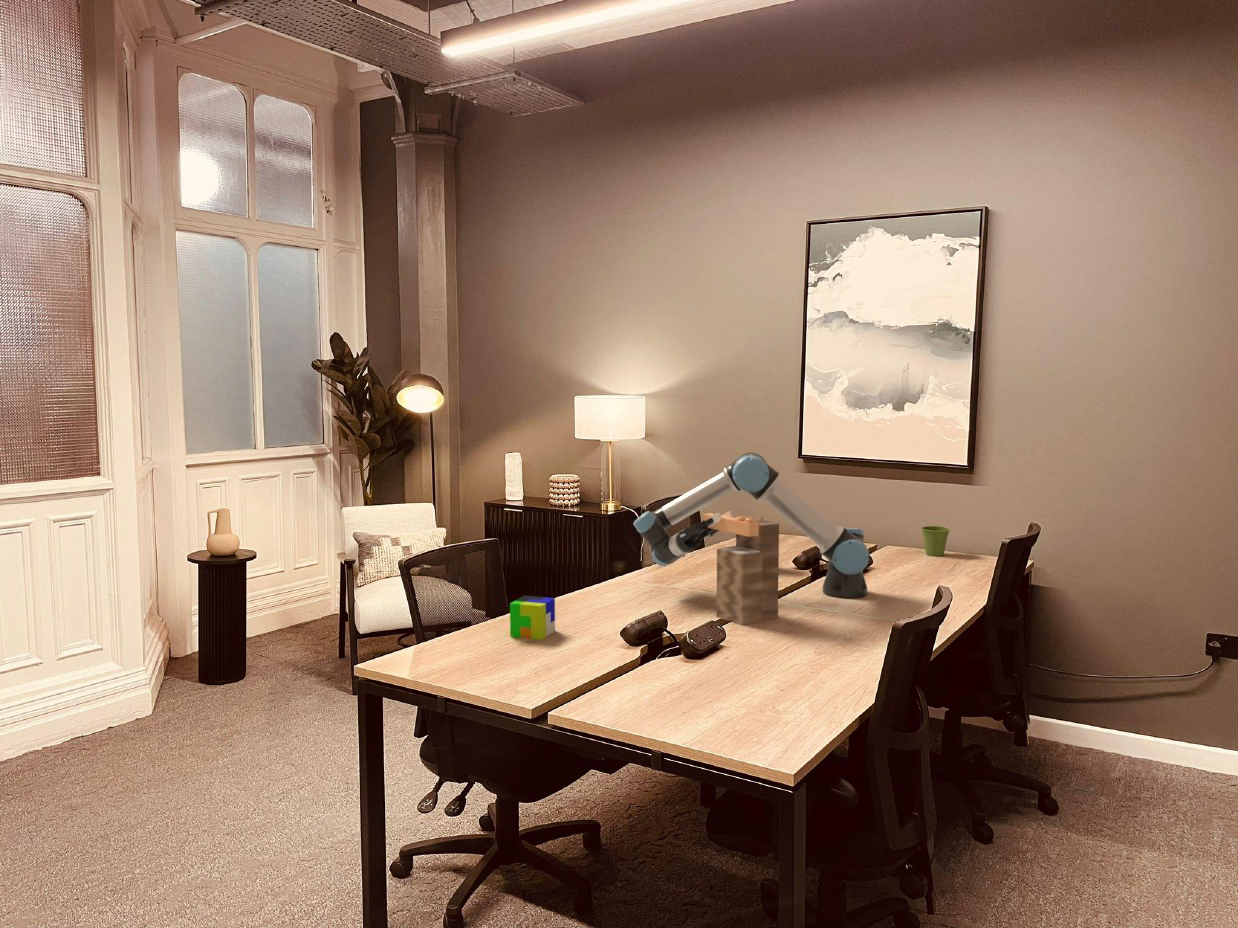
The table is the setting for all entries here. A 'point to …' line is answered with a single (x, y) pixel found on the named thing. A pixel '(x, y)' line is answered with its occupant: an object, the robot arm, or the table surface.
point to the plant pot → (935, 539)
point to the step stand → (749, 576)
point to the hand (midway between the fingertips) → (725, 515)
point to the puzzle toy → (532, 617)
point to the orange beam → (735, 525)
